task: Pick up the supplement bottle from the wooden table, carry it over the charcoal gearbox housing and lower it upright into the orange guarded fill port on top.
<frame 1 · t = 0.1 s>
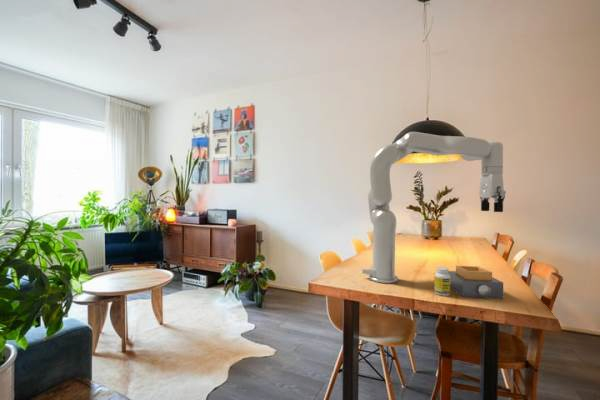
hand: (491, 211, 118), 31 cm above the table, tool pointing down, fingers open, 9 cm apart
gearbox: (472, 291, 108), on the table
supplement bottle: (442, 294, 105), on the table
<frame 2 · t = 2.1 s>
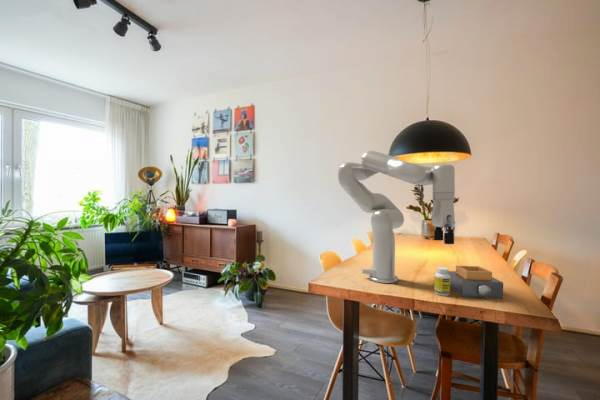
hand: (443, 242, 105), 20 cm above the table, tool pointing down, fingers open, 9 cm apart
nothing on the table moved.
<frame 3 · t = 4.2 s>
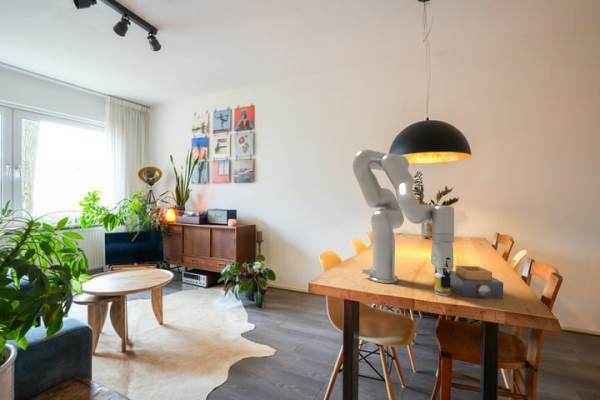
hand: (442, 284, 105), 4 cm above the table, tool pointing down, fingers closed on supplement bottle, 5 cm apart
supplement bottle: (442, 294, 105), on the table, touching gripper
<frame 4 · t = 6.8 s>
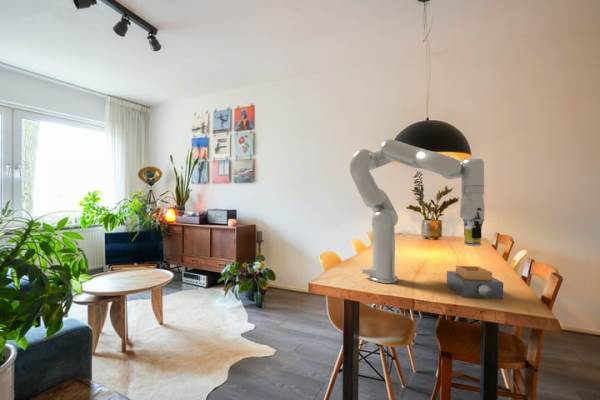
hand: (472, 236, 108), 22 cm above the table, tool pointing down, fingers closed on supplement bottle, 5 cm apart
supplement bottle: (472, 246, 108), point 18 cm above the table, touching gripper
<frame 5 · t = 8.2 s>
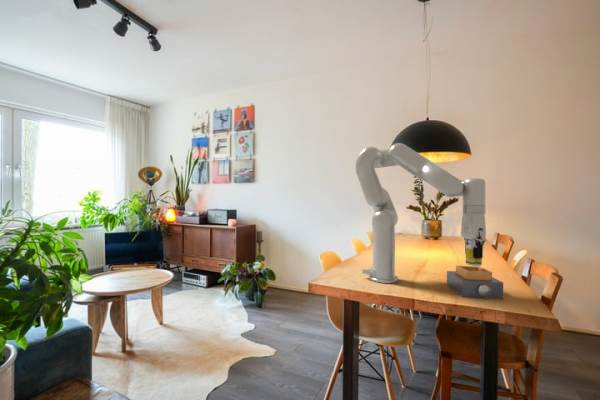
hand: (473, 255, 108), 14 cm above the table, tool pointing down, fingers closed on supplement bottle, 5 cm apart
supplement bottle: (473, 265, 108), point 10 cm above the table, touching gripper
when the fingers open (11 cm above the table, at t = 9.6 s): supplement bottle drops 2 cm, resting on gearbox.
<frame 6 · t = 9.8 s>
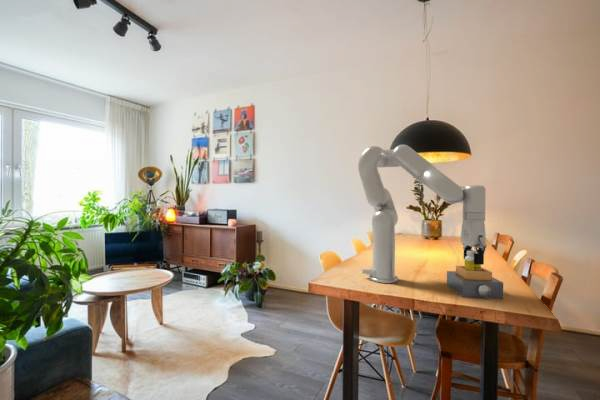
hand: (473, 261, 108), 12 cm above the table, tool pointing down, fingers open, 7 cm apart
supplement bottle: (472, 276, 108), point 6 cm above the table, touching gearbox
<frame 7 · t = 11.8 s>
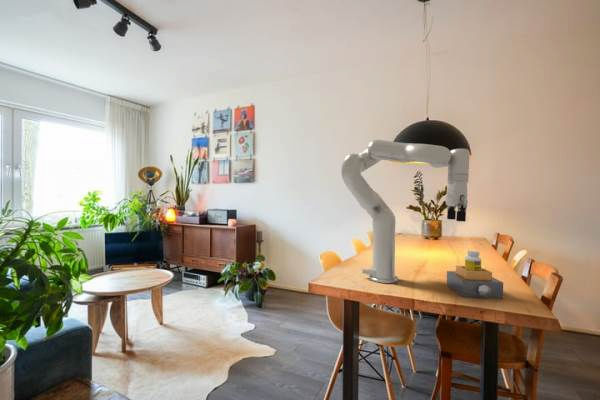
hand: (455, 220, 114), 28 cm above the table, tool pointing down, fingers open, 9 cm apart
nothing on the table moved.
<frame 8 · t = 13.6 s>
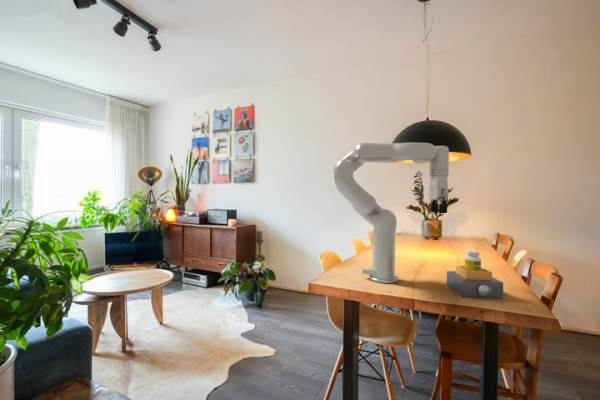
hand: (438, 212, 123), 30 cm above the table, tool pointing down, fingers open, 9 cm apart
nothing on the table moved.
at the end: supplement bottle 0.3 cm off-centre on the gearbox, point 5.8 cm above the gearbox's base; supplement bottle tilted 0°; the gripper is holding nothing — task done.
